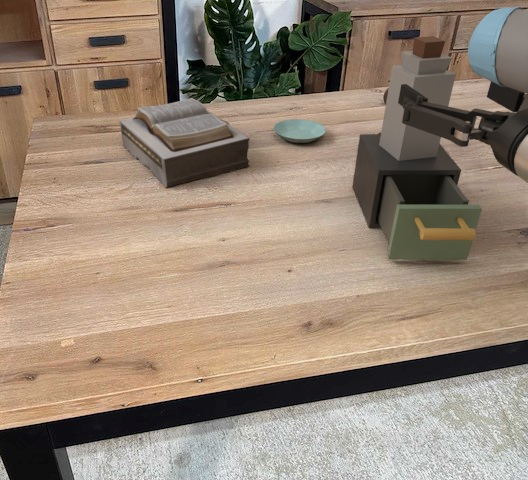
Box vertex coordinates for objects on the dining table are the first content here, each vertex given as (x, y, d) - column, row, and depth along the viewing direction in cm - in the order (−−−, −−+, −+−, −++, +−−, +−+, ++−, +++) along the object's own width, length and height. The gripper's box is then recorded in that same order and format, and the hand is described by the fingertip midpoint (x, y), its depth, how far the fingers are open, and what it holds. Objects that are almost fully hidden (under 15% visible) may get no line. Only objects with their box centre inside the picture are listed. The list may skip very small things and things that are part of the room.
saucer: (331, 132, 125) (332, 123, 124) (315, 151, 116) (316, 141, 115) (283, 125, 130) (284, 116, 128) (265, 142, 121) (265, 133, 120)
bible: (214, 127, 129) (214, 87, 124) (256, 173, 108) (258, 127, 102) (119, 140, 124) (114, 98, 118) (143, 192, 102) (138, 144, 97)
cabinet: (446, 228, 89) (461, 169, 83) (368, 228, 90) (378, 170, 84) (419, 187, 102) (431, 133, 96) (352, 187, 102) (359, 134, 96)
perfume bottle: (414, 141, 93) (437, 33, 83) (436, 156, 88) (463, 42, 78) (379, 144, 92) (397, 35, 82) (398, 160, 86) (421, 46, 77)
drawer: (479, 279, 76) (496, 226, 71) (396, 278, 77) (408, 226, 72) (437, 214, 91) (449, 166, 87) (369, 213, 92) (377, 166, 87)
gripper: (429, 188, 60) (360, 121, 78) (632, 171, 62) (520, 110, 80) (444, 125, 56) (367, 69, 73) (660, 109, 58) (535, 59, 76)
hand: (446, 90), depth 77 cm, fingers open, 13 cm apart
